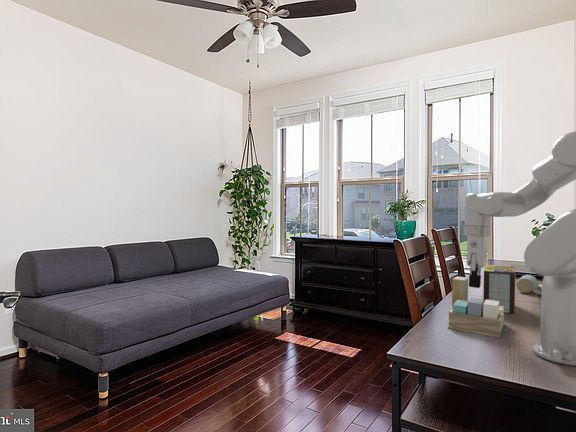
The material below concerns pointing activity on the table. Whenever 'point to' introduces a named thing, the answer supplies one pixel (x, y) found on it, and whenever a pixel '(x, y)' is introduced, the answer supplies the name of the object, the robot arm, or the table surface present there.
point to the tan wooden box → (477, 323)
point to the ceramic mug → (528, 285)
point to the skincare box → (459, 289)
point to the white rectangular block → (491, 309)
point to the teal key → (460, 307)
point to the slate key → (475, 307)
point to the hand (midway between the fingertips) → (474, 286)
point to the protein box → (500, 286)
